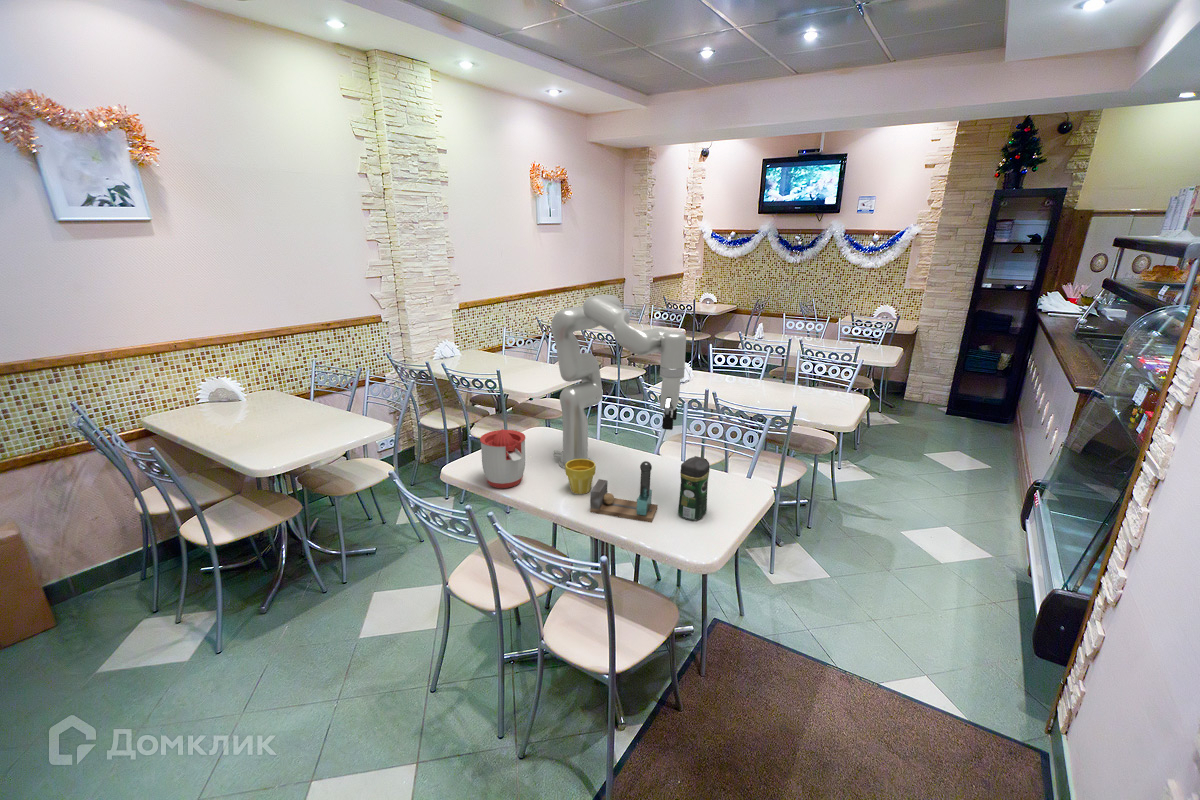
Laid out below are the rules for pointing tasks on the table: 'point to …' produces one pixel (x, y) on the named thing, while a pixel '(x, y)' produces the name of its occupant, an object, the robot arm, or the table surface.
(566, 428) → the robot arm
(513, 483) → the citrus juicer
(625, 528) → the table surface
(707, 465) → the coffee jar
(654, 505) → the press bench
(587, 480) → the plant pot
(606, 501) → the walnut
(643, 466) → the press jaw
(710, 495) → the table surface
